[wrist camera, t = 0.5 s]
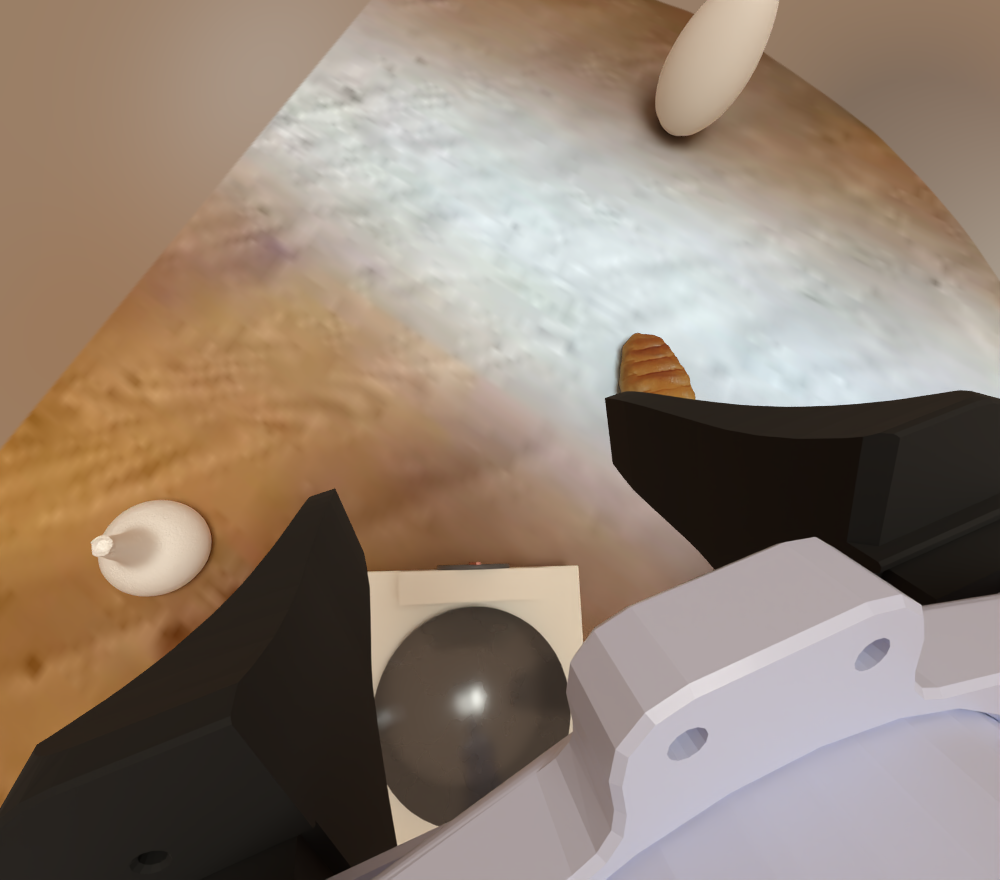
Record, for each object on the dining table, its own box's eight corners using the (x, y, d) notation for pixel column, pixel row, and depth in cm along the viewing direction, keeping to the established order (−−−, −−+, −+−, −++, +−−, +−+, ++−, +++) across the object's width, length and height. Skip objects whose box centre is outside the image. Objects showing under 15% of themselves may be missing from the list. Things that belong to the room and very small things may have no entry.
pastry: (600, 344, 45) (618, 325, 41) (664, 337, 46) (687, 318, 43) (626, 441, 43) (648, 430, 39) (692, 430, 44) (718, 418, 41)
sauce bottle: (670, 167, 51) (803, -31, 34) (624, 113, 52) (733, -109, 35) (717, 140, 54) (864, -58, 36) (673, 88, 54) (797, -131, 37)
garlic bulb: (135, 499, 35) (45, 480, 27) (226, 506, 35) (163, 489, 27) (111, 591, 33) (8, 599, 25) (207, 597, 33) (134, 607, 26)
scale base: (580, 826, 34) (618, 884, 28) (346, 858, 31) (332, 931, 25) (564, 559, 39) (595, 559, 33) (358, 565, 36) (349, 565, 30)
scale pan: (572, 810, 32) (576, 815, 31) (368, 836, 29) (367, 844, 28) (561, 602, 35) (564, 603, 34) (375, 610, 32) (375, 611, 32)
